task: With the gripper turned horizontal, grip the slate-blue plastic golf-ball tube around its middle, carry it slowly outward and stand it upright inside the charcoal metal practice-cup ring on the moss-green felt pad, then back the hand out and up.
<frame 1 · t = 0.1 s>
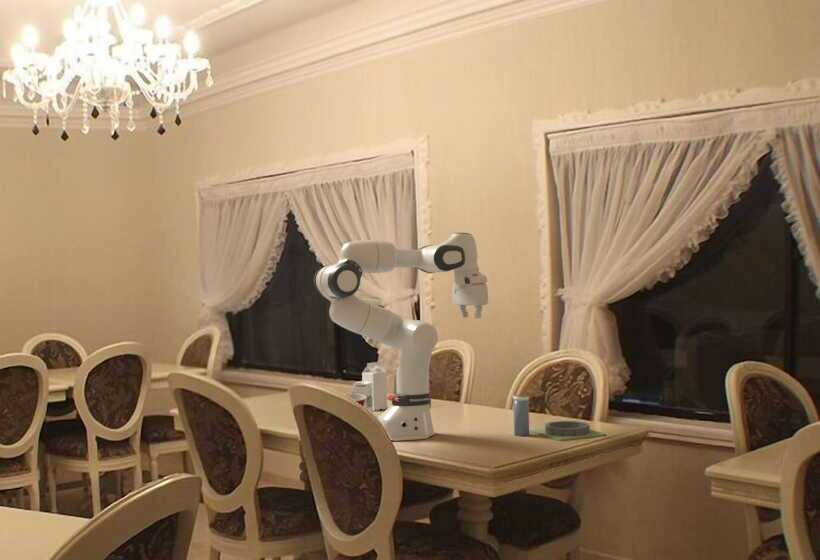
hand: (471, 317, 298), 39 cm above the table, tool pointing down, fingers open, 8 cm apart
syrup box: (363, 421, 319), on the table
ball tube: (521, 434, 285), on the table
practice green: (567, 433, 285), on the table
milk carton: (375, 409, 346), on the table
plastic cup: (351, 430, 301), on the table
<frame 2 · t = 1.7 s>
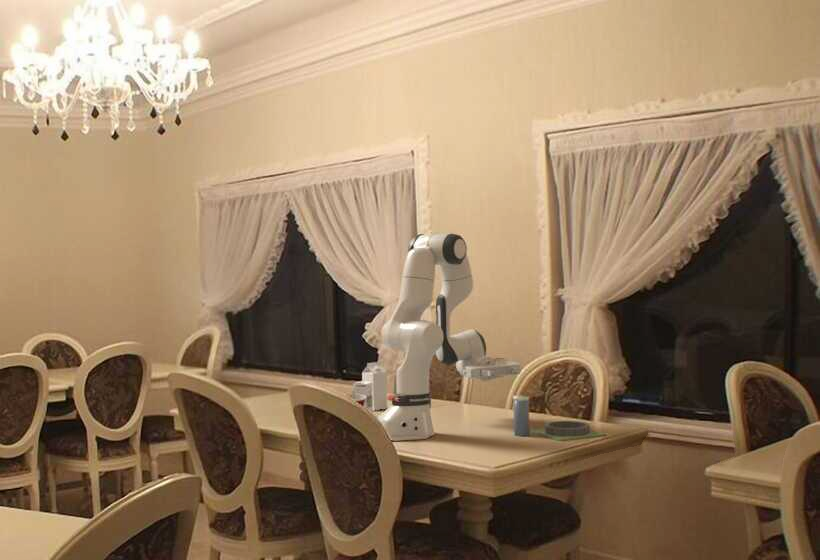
hand: (503, 372, 295), 20 cm above the table, tool horizontal, fingers open, 8 cm apart
nothing on the table moved.
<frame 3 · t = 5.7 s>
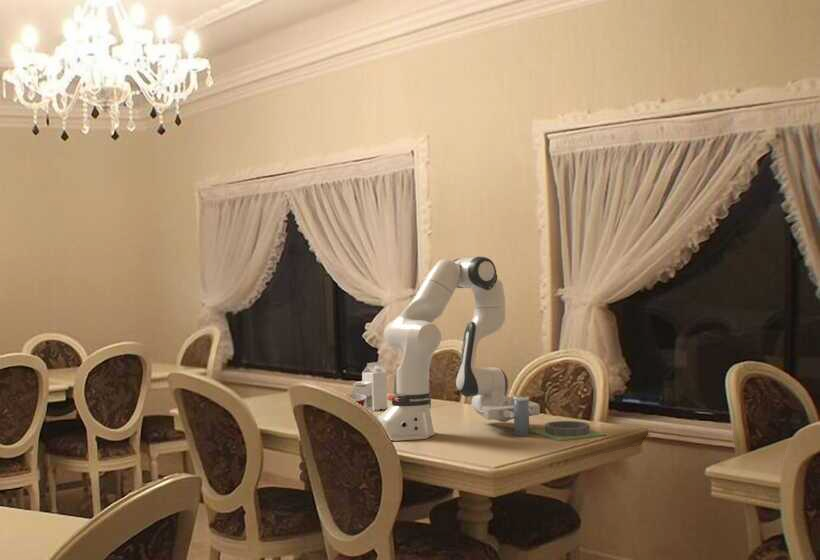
hand: (522, 414, 284), 7 cm above the table, tool horizontal, fingers closed on ball tube, 5 cm apart
ball tube: (521, 434, 285), on the table, touching gripper
everything else where it was.
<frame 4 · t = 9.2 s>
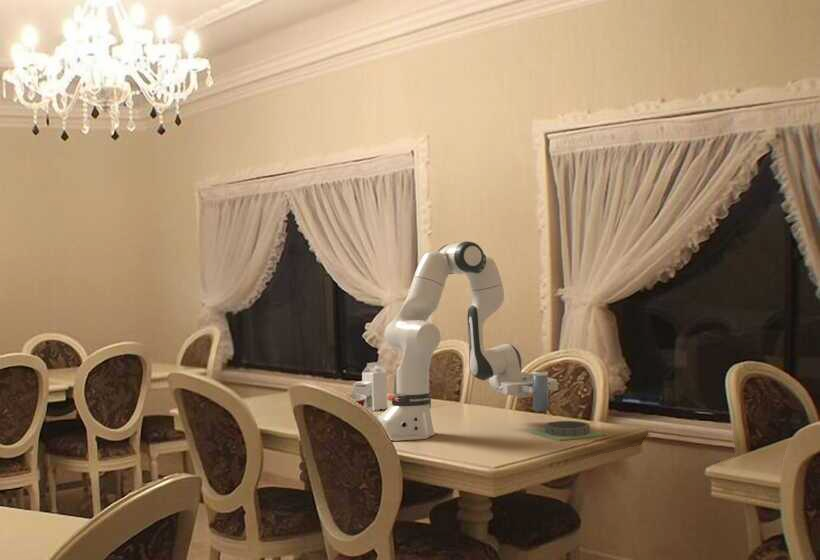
hand: (541, 389, 284), 15 cm above the table, tool horizontal, fingers closed on ball tube, 5 cm apart
ball tube: (540, 410, 285), point 8 cm above the table, touching gripper
everything else where it was.
when the fingers open (9 cm above the table, at t = 12.5 s): ball tube drops 1 cm, resting on practice green.
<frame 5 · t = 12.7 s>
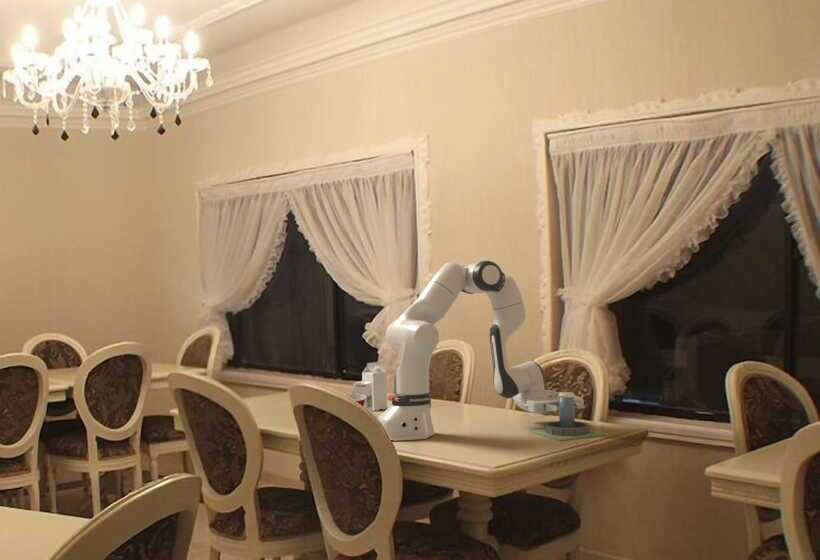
hand: (568, 407, 284), 9 cm above the table, tool horizontal, fingers open, 7 cm apart
ball tube: (567, 431, 285), point 1 cm above the table, touching practice green
everything else where it was.
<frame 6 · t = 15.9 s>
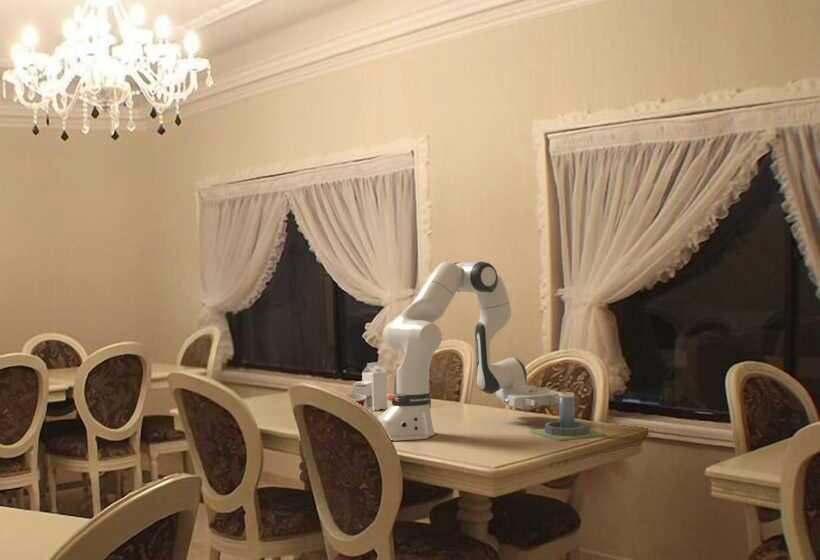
hand: (547, 402, 295), 9 cm above the table, tool horizontal, fingers open, 8 cm apart
nothing on the table moved.
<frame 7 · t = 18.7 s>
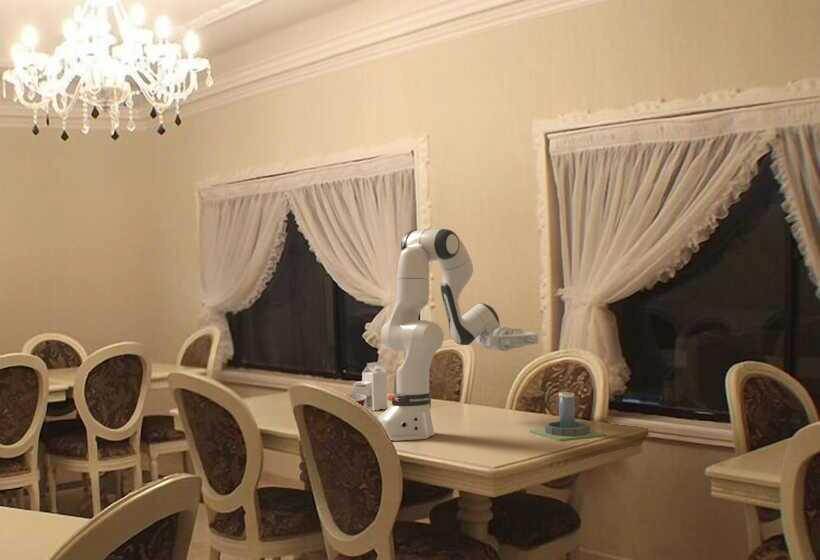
hand: (522, 341, 300), 30 cm above the table, tool horizontal, fingers open, 8 cm apart
nothing on the table moved.
at the end: ball tube 0.0 cm from the target spot, point 0.6 cm above the table; ball tube tilted 0°; the gripper is holding nothing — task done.
